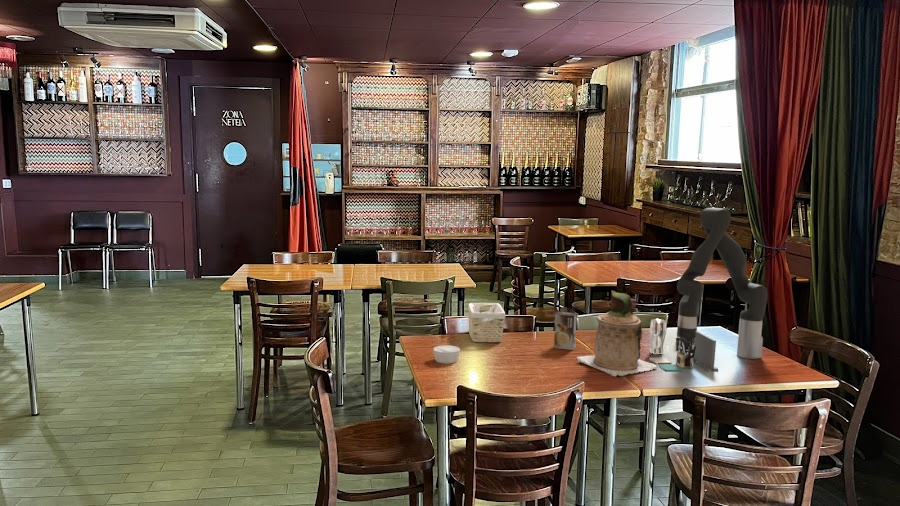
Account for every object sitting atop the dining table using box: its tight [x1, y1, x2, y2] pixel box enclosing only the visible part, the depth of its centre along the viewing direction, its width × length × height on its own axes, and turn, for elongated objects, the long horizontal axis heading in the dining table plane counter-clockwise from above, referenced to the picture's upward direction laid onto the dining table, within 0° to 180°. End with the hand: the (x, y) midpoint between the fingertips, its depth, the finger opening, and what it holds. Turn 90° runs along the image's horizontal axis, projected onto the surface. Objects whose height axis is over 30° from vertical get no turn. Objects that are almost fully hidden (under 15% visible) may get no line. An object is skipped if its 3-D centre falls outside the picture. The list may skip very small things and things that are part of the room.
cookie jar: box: [576, 290, 658, 378], centre depth 282 cm, size 25×25×32 cm
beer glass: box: [649, 318, 667, 355], centre depth 304 cm, size 7×7×15 cm
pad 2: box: [658, 364, 683, 372], centre depth 282 cm, size 7×7×1 cm
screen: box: [693, 330, 719, 372], centre depth 287 cm, size 5×16×13 cm, turn 7°
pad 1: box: [648, 357, 672, 365], centre depth 292 cm, size 7×7×1 cm
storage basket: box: [467, 302, 506, 343], centre depth 325 cm, size 24×16×15 cm
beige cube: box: [675, 352, 694, 368], centre depth 287 cm, size 5×5×5 cm
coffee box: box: [553, 311, 578, 351], centre depth 309 cm, size 9×6×16 cm
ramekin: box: [432, 344, 461, 365], centre depth 286 cm, size 11×11×5 cm
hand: (684, 364), depth 287 cm, fingers closed on beige cube, 5 cm apart
